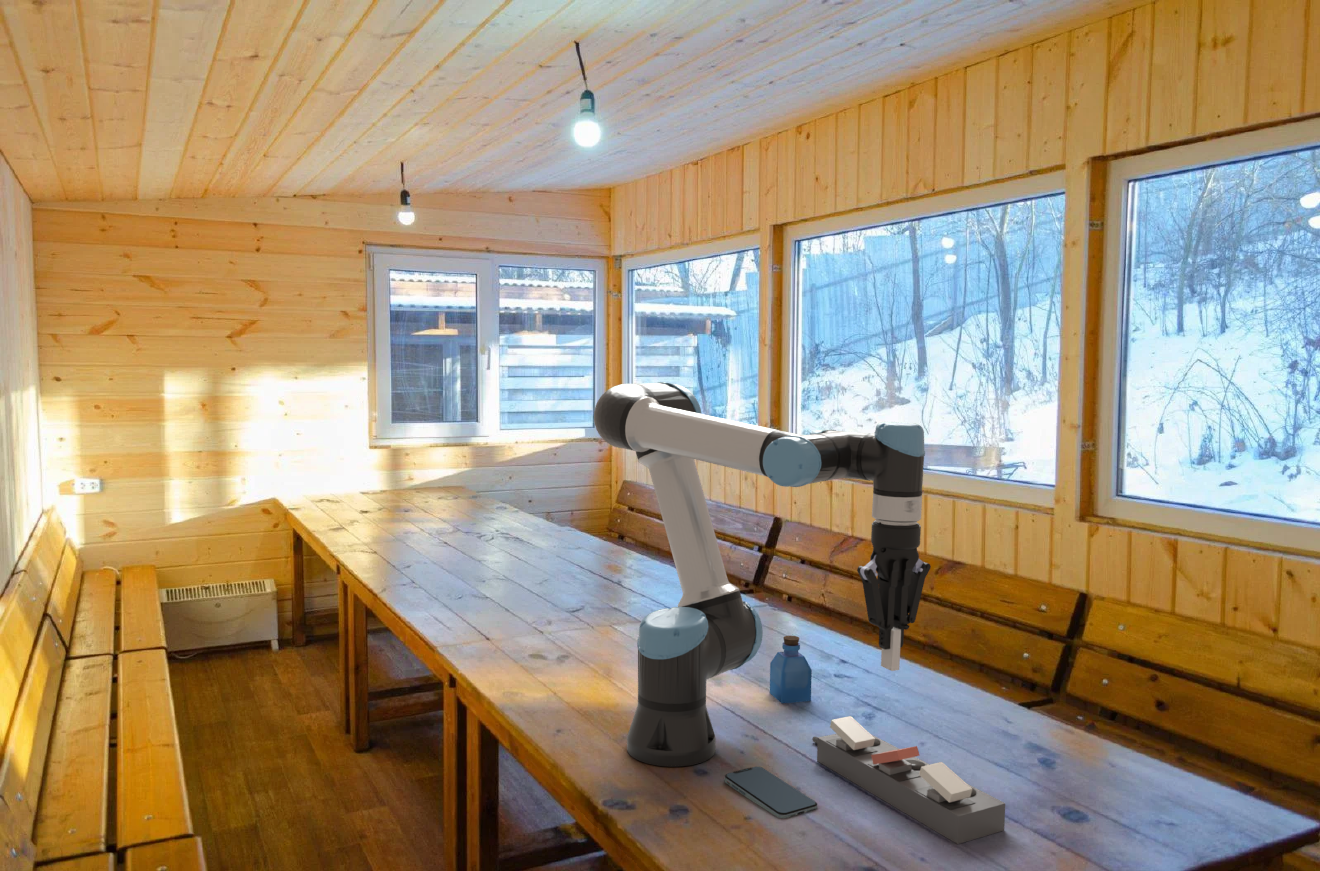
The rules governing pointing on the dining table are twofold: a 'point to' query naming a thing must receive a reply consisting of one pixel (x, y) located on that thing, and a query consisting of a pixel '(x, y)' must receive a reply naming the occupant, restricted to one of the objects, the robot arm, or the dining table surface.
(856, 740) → the rocker far
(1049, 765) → the dining table surface
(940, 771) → the rocker near
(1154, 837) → the dining table surface
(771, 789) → the smartphone
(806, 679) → the perfume bottle
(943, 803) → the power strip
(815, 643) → the dining table surface
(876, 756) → the rocker mid
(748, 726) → the dining table surface
